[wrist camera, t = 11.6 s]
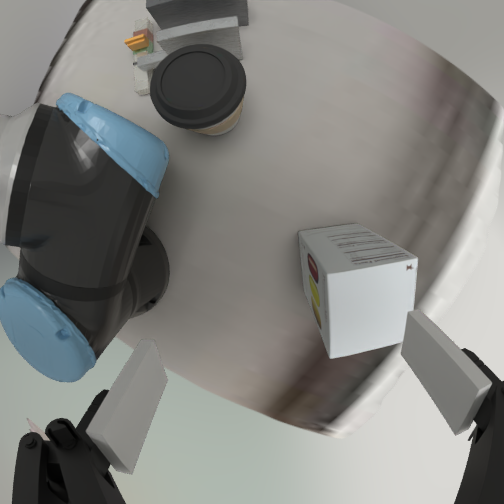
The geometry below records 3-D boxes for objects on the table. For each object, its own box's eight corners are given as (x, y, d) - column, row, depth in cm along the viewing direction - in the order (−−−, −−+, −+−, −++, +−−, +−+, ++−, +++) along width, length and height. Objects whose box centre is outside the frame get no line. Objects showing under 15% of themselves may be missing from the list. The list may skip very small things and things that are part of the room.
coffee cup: (194, 77, 33) (164, 29, 18) (257, 91, 34) (259, 44, 19) (174, 135, 35) (129, 114, 21) (236, 151, 36) (226, 135, 21)
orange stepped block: (131, 51, 29) (124, 44, 26) (132, 45, 29) (124, 38, 26) (150, 45, 29) (143, 38, 26) (150, 39, 29) (143, 31, 26)
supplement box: (296, 230, 39) (324, 269, 22) (358, 221, 38) (420, 253, 22) (303, 293, 41) (328, 362, 25) (361, 283, 41) (412, 341, 24)
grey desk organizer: (140, 95, 34) (109, 76, 24) (140, 27, 30) (114, -1, 21) (255, 74, 33) (255, 44, 23) (245, 6, 30) (243, -31, 20)
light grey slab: (149, 76, 33) (120, 52, 23) (149, 68, 32) (120, 43, 23) (242, 59, 32) (238, 25, 22) (241, 50, 32) (237, 16, 22)
